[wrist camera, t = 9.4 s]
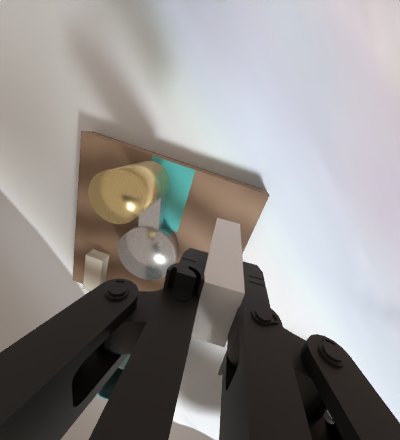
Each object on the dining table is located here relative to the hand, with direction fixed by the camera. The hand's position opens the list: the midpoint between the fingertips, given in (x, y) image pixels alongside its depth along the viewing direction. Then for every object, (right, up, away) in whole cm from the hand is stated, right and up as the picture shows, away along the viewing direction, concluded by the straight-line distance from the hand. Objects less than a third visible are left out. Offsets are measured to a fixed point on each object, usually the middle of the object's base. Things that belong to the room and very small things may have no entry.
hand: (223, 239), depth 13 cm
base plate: (-7, -1, +15) cm, 17 cm away
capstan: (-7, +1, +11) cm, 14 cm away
